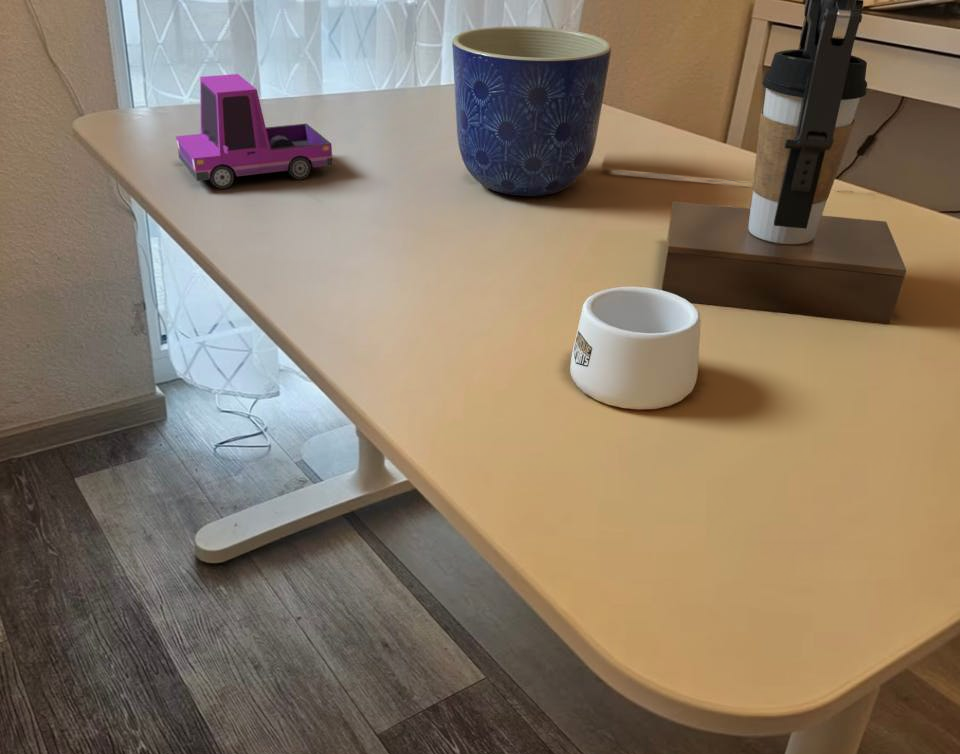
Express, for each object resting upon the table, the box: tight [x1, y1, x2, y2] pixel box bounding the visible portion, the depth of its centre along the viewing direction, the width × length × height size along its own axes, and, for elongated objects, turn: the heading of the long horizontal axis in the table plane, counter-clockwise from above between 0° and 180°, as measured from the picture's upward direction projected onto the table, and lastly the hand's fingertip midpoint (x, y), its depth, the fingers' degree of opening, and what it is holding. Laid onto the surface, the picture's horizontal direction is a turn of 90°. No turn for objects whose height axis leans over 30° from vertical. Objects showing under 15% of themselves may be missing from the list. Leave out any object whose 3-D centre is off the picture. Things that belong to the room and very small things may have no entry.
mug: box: [569, 286, 702, 410], centre depth 72 cm, size 12×10×6 cm
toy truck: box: [175, 73, 334, 190], centre depth 108 cm, size 11×16×10 cm
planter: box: [451, 25, 612, 197], centre depth 106 cm, size 17×17×15 cm
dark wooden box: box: [660, 200, 907, 325], centre depth 88 cm, size 20×12×5 cm, turn 79°
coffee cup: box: [748, 49, 868, 244], centre depth 82 cm, size 8×8×15 cm
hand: (787, 209), depth 85 cm, fingers closed on coffee cup, 8 cm apart
